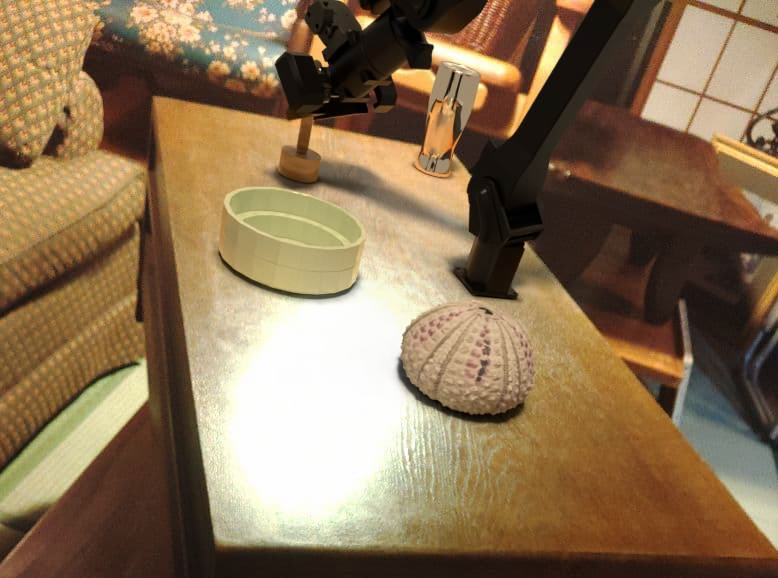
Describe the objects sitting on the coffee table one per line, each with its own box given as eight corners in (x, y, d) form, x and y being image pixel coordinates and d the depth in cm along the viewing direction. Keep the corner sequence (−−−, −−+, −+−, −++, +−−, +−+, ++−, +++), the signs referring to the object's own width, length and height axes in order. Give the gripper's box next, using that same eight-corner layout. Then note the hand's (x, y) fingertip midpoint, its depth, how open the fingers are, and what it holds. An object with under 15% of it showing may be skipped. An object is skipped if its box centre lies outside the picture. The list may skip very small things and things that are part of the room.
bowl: (372, 304, 80) (385, 255, 77) (233, 293, 74) (240, 239, 71) (332, 243, 90) (342, 197, 87) (207, 228, 84) (212, 178, 81)
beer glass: (449, 182, 121) (480, 79, 111) (408, 168, 121) (436, 64, 111) (454, 171, 126) (484, 72, 116) (415, 158, 126) (442, 58, 116)
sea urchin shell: (548, 403, 74) (582, 330, 69) (472, 443, 65) (505, 363, 60) (447, 338, 79) (472, 266, 74) (364, 367, 70) (386, 288, 65)
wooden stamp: (321, 185, 104) (343, 70, 95) (283, 179, 102) (302, 61, 93) (311, 170, 108) (331, 58, 99) (274, 164, 106) (291, 49, 96)
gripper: (404, -12, 94) (326, 57, 106) (300, -30, 82) (224, 50, 93) (432, 80, 96) (353, 138, 108) (335, 75, 84) (257, 141, 95)
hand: (300, 116), depth 101 cm, fingers open, 4 cm apart
